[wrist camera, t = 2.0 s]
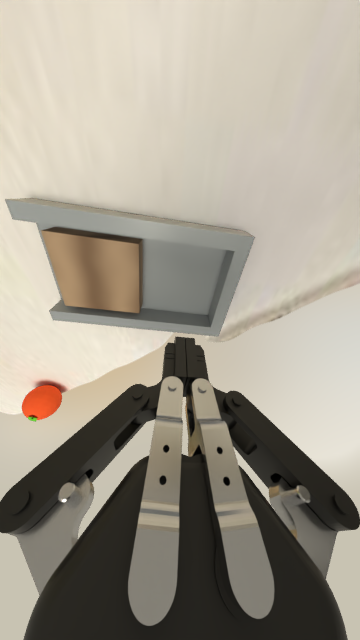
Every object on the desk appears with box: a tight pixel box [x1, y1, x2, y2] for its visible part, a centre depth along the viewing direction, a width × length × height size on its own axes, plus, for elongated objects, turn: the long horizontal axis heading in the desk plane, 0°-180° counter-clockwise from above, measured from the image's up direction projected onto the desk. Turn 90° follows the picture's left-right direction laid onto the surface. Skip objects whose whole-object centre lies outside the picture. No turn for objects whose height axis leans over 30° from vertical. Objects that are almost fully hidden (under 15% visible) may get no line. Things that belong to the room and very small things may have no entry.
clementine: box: [22, 385, 62, 421], centre depth 38 cm, size 8×7×7 cm
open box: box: [5, 198, 255, 336], centre depth 22 cm, size 24×14×4 cm, turn 82°
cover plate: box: [41, 227, 143, 313], centre depth 22 cm, size 10×9×2 cm
